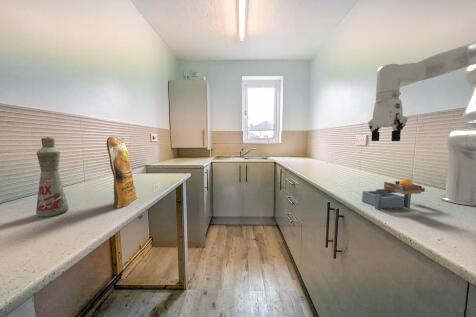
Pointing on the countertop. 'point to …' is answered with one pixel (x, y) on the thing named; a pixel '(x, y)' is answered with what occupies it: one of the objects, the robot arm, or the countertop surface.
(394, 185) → the lever
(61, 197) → the bottle
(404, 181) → the ball
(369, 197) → the blue-grey open box
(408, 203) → the stand
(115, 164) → the pancake mix bag
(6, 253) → the countertop surface
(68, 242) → the countertop surface
